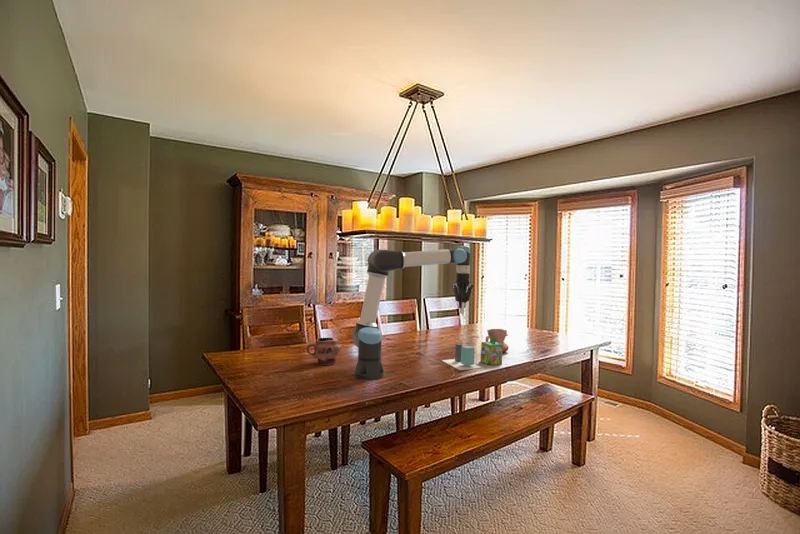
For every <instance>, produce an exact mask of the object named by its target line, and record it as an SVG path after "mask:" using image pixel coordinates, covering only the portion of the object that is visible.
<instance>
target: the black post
mask: <svg viewBox="0 0 800 534" xmlns="http://www.w3.org/2000/svg"><path fill="white" fill-rule="evenodd" d="M461 346H463V345H462V343H455V353H454V359H455V361H456V362H461Z"/></svg>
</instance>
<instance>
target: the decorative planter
mask: <svg viewBox="0 0 800 534" xmlns="http://www.w3.org/2000/svg"><path fill="white" fill-rule="evenodd" d="M312 347H313V348H314V352H313V353H311V352H310V351H309V349H310V348H312ZM342 349H343V345H342V344H341V343H340V341H339V339H337V338H334V337H319V338H317V339H316V340H315V342H310V343H308V344H307V345H306V347H305V350H306V351H305V352H306V353H307V354H308V355H310V356H311V357H313V358H315V359H316V358H317V363H318V364H319V365H321V366H322V365H324V366H325V365H327V366H328V365H333V364H336V363H337V355H338V354H339V352H340V351H341V350H342Z"/></svg>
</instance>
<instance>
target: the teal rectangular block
mask: <svg viewBox="0 0 800 534" xmlns="http://www.w3.org/2000/svg"><path fill="white" fill-rule="evenodd" d="M461 364H463V365H465V366H467V365H474V364H475V347H474V346H471V345H462V346H461Z"/></svg>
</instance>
